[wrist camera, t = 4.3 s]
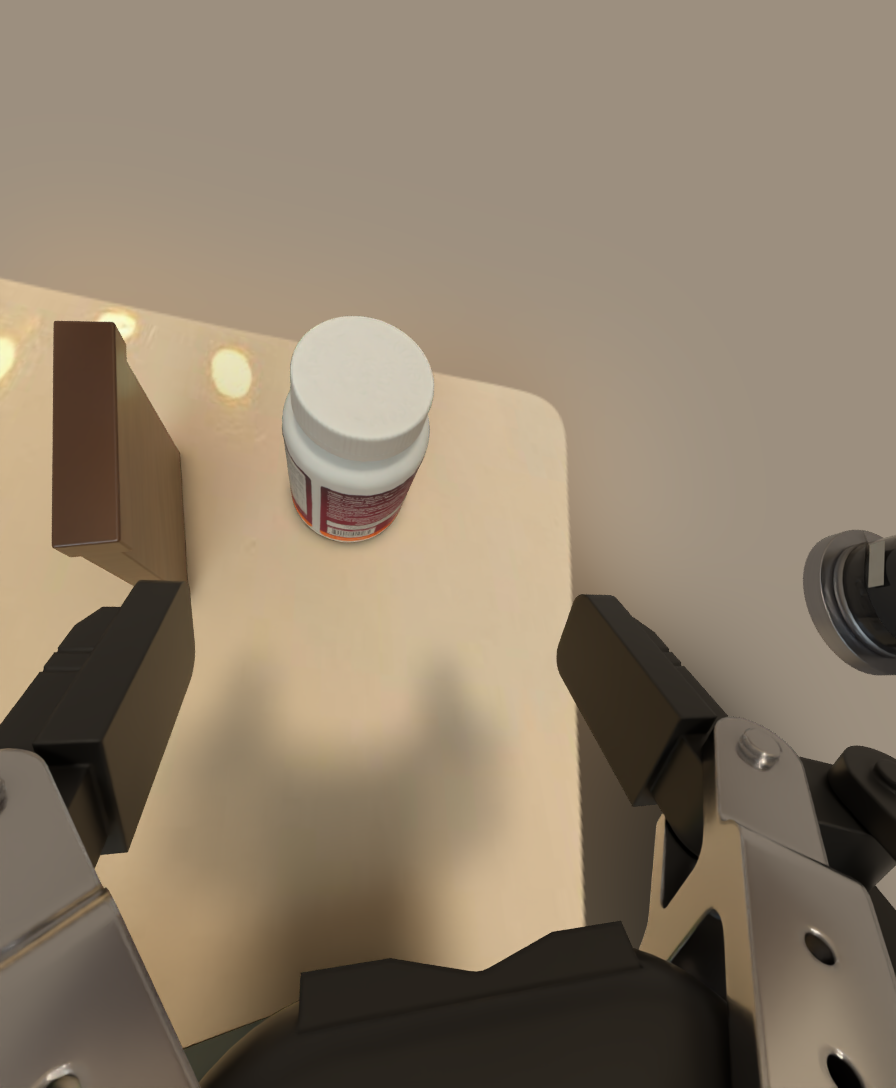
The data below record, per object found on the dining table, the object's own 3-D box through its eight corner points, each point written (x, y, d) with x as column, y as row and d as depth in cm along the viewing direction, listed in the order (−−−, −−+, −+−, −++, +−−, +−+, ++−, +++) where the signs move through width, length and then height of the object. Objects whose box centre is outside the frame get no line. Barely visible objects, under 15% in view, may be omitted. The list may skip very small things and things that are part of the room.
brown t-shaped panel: (186, 452, 26) (114, 320, 17) (195, 598, 24) (120, 541, 15) (148, 454, 25) (52, 319, 16) (154, 603, 23) (50, 548, 14)
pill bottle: (420, 488, 29) (481, 374, 18) (357, 567, 27) (385, 488, 16) (337, 425, 29) (351, 273, 18) (266, 499, 26) (234, 373, 16)
